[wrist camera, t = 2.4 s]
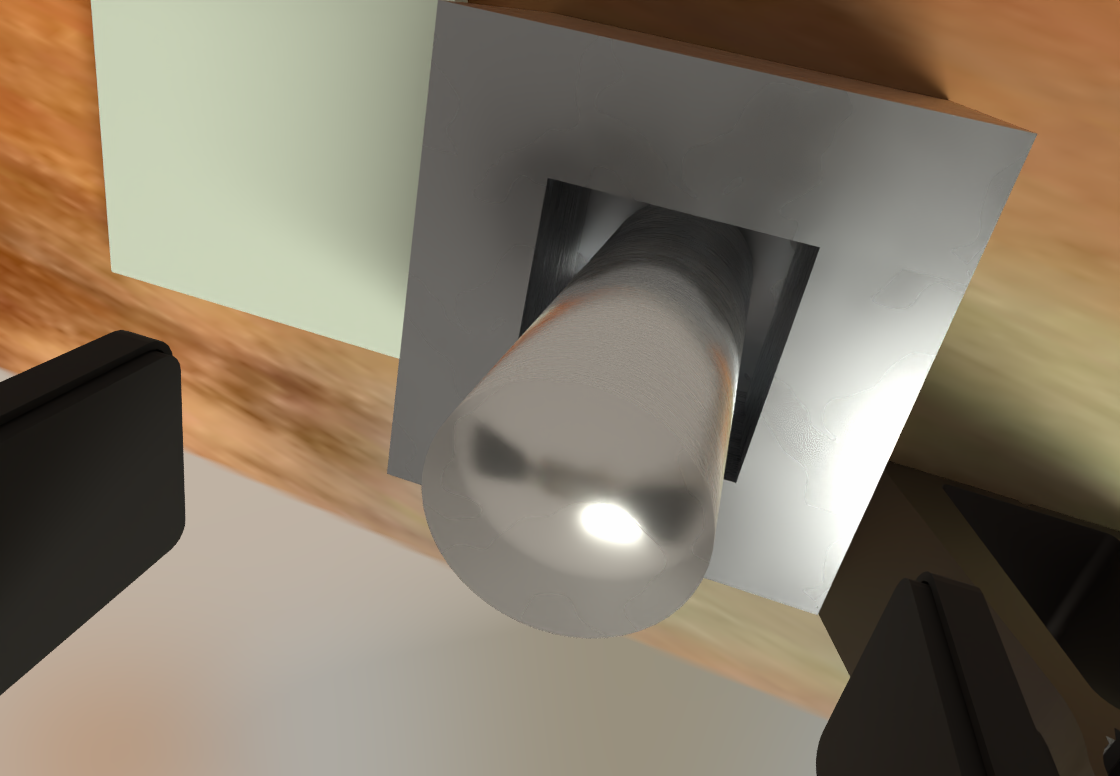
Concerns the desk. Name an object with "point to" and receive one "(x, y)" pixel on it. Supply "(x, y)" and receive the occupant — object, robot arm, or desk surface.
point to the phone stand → (1001, 598)
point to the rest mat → (268, 153)
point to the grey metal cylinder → (601, 436)
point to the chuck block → (718, 194)
